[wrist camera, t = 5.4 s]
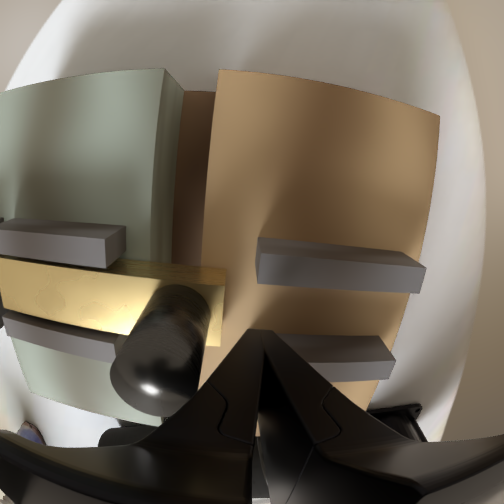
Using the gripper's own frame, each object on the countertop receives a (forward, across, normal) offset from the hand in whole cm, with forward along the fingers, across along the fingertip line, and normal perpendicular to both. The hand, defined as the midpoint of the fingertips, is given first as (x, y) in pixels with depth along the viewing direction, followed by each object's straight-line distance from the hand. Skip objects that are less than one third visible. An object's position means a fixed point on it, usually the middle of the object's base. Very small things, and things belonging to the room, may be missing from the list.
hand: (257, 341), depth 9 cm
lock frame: (+8, +3, 0) cm, 9 cm away
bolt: (+3, +6, 0) cm, 7 cm away
